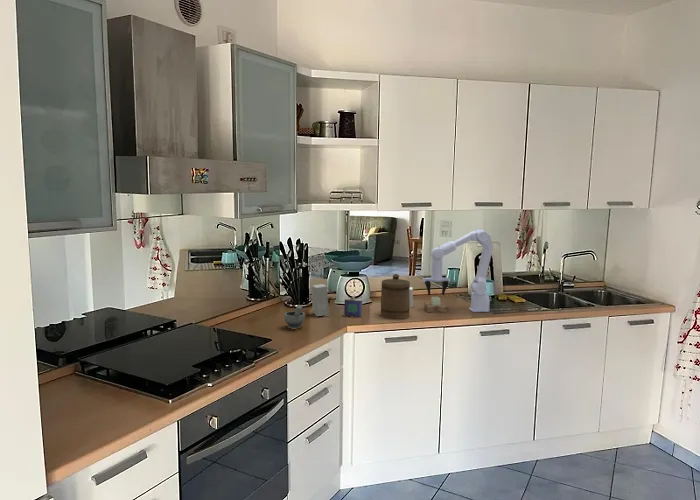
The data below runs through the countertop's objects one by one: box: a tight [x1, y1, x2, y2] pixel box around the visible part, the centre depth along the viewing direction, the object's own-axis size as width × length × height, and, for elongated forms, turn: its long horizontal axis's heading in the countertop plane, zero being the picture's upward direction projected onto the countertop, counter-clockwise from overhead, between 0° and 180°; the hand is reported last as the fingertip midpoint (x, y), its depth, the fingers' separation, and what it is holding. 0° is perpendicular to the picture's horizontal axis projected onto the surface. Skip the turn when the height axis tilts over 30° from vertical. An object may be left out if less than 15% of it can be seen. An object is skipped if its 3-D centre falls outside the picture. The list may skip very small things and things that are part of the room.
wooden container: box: [380, 273, 411, 320], centre depth 280 cm, size 15×15×22 cm
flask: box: [343, 295, 363, 318], centre depth 278 cm, size 9×3×11 cm, turn 78°
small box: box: [409, 286, 414, 309], centre depth 301 cm, size 8×6×10 cm
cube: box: [430, 296, 441, 306], centre depth 293 cm, size 4×4×4 cm
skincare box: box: [311, 283, 330, 317], centre depth 279 cm, size 8×7×16 cm
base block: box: [424, 302, 448, 313], centre depth 293 cm, size 10×10×3 cm
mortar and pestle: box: [283, 304, 306, 328], centre depth 255 cm, size 11×9×12 cm
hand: (436, 294), depth 292 cm, fingers open, 7 cm apart
